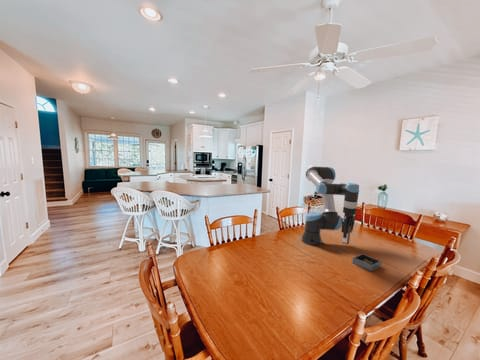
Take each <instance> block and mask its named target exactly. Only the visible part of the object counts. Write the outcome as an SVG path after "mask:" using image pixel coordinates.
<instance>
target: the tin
mask: <svg viewBox="0 0 480 360" xmlns="http://www.w3.org/2000/svg"><path fill="white" fill-rule="evenodd" d="M352 264H354V265H356V266H358V267H360V268H363V269H365V270H366V271H369V272H371V273H372V272H374V271H376V270H378V269H379V268H381V267H382V260H379V259H377V258H374V257H371V256H370V255H367V254H364V253H361V254H358V255H356V256H354V257H352Z"/></svg>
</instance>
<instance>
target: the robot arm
mask: <svg viewBox="0 0 480 360" xmlns="http://www.w3.org/2000/svg"><path fill="white" fill-rule="evenodd" d="M305 178H306V179H307V180H308V181H310V182H311V183H312V184H313V185H314V186H315V191H316V194H319V195H321V198H322V204H323V205H322V206H323V208H322V209H323V211H322V213H321V212H318V211H311V212H307V213H306V215H305V223H304V224H305V225H304V232H303V234H302V236H301V242H303V243H304V244H306V245H311V246H320V245H322V242H323V241H322V240H323V239H322V235H321V230H322V231H323V230H324V231H339V230H340V229H341V233H343V234H342V243H343V242H345V243H347V239H348V227H349V226H351V230H350V234H351V233H353V230H354V225H355V221H356V219H357V216H356V214H357V209H358V208H357V207H358V201H359V192H360V185H359V184H357V183H352V182H347V183H334V181H335V180H336V171H335V169H334V168H333V167H332V166H331V167H329V166H311V167H309V168H308V169H307V170H306V172H305ZM334 195H335V196H344V199H343V207H342V212H343V213H344V215H343V217H342V216H341V215H339V213H338V211H336V206H335V205H336V204H335V198H334ZM350 240H351V237H350V238H349V242H350ZM345 243H344V244H345Z"/></svg>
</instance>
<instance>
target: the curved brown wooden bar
mask: <svg viewBox="0 0 480 360" xmlns="http://www.w3.org/2000/svg"><path fill="white" fill-rule="evenodd" d="M350 230H351V226H349V227H348V239H347V243H345V242H342V243H343V244H345V245H349V244H350V241H349V238H350V239H351V232H350Z"/></svg>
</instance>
